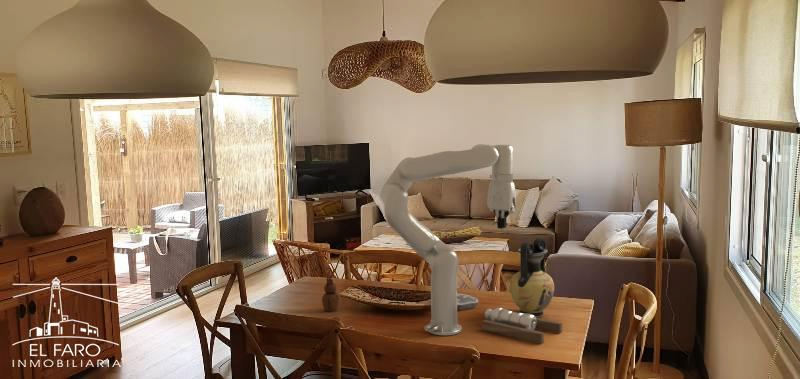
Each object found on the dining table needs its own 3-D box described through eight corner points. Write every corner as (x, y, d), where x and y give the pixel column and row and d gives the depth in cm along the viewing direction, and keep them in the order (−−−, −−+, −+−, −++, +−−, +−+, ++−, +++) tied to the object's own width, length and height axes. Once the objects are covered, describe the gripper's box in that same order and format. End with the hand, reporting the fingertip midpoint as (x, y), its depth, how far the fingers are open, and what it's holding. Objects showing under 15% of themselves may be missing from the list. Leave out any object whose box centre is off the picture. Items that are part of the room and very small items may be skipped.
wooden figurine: (327, 313, 261) (326, 277, 259) (320, 310, 265) (318, 275, 264) (341, 310, 265) (340, 274, 263) (334, 307, 270) (332, 272, 268)
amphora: (543, 324, 242) (543, 245, 239) (502, 316, 252) (502, 241, 249) (560, 312, 257) (561, 237, 253) (521, 305, 266) (521, 234, 263)
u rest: (541, 344, 221) (541, 334, 221) (482, 330, 237) (482, 321, 236) (562, 332, 233) (562, 322, 232) (504, 319, 248) (504, 310, 248)
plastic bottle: (532, 312, 229) (485, 302, 242) (527, 331, 227) (480, 319, 240) (540, 317, 233) (494, 307, 247) (535, 335, 232) (489, 324, 245)
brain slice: (472, 299, 278) (472, 292, 278) (481, 310, 262) (481, 303, 261) (427, 301, 276) (427, 294, 276) (434, 313, 259) (434, 306, 259)
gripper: (479, 178, 239) (479, 227, 240) (513, 180, 228) (512, 231, 230) (491, 176, 244) (491, 224, 246) (525, 179, 234) (524, 229, 235)
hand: (501, 228), depth 238 cm, fingers closed
